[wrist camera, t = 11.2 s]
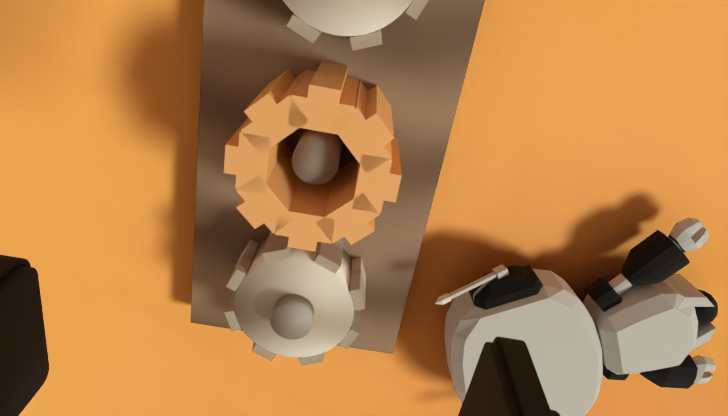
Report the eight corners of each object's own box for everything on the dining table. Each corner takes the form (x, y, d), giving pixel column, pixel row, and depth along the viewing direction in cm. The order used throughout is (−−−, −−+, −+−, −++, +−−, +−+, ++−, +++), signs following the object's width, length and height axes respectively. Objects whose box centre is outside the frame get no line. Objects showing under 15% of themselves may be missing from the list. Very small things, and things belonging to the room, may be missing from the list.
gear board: (223, -194, 21) (175, -243, 16) (511, -133, 21) (552, -162, 16) (198, 306, 31) (165, 371, 26) (392, 337, 32) (394, 405, 27)
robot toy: (675, 184, 28) (414, 265, 30) (733, 219, 24) (427, 312, 26) (689, 351, 33) (465, 414, 35) (739, 404, 29) (482, 473, 31)
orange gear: (258, 49, 23) (230, 69, 19) (410, 77, 24) (417, 104, 19) (246, 189, 26) (219, 235, 22) (381, 212, 27) (382, 262, 22)
